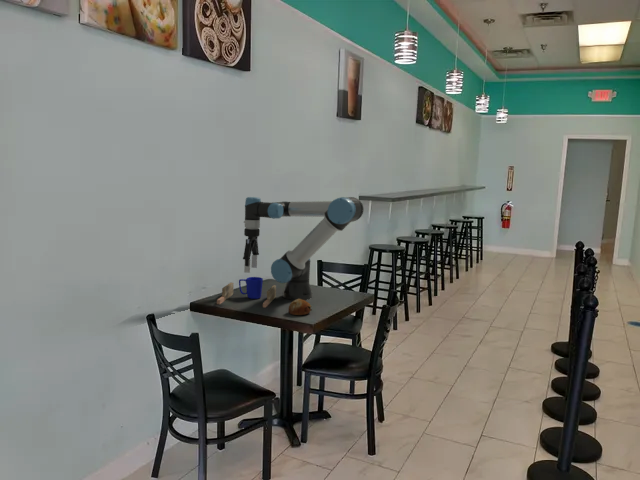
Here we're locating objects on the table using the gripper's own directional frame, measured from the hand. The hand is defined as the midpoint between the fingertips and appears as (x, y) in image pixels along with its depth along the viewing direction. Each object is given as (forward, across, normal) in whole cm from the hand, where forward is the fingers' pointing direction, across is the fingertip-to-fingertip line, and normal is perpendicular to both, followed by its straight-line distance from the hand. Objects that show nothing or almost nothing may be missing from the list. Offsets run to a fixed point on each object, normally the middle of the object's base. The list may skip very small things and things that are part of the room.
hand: (250, 270), depth 261 cm
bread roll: (+14, +24, +32) cm, 42 cm away
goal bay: (+14, +14, 0) cm, 20 cm away
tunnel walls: (+14, +2, 0) cm, 14 cm away
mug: (+14, 0, 0) cm, 14 cm away
